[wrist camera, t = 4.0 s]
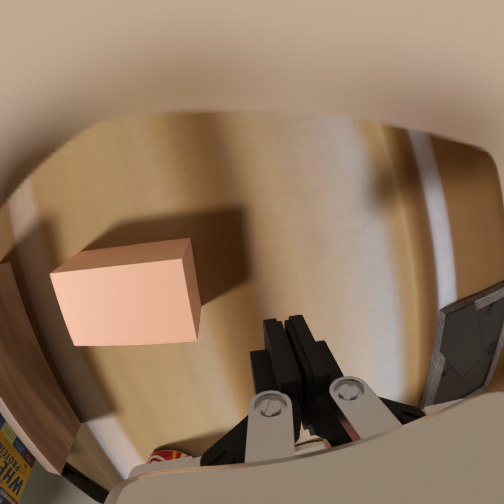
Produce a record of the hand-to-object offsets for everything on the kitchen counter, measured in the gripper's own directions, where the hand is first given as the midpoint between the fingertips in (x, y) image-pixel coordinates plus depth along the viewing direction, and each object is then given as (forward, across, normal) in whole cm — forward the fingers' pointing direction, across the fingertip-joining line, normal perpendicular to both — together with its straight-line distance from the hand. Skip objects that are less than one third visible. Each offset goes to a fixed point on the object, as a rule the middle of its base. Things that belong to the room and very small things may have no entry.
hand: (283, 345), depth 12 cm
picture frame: (+12, -29, +19) cm, 37 cm away
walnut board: (+12, +25, +9) cm, 29 cm away
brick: (+12, +10, +1) cm, 16 cm away
